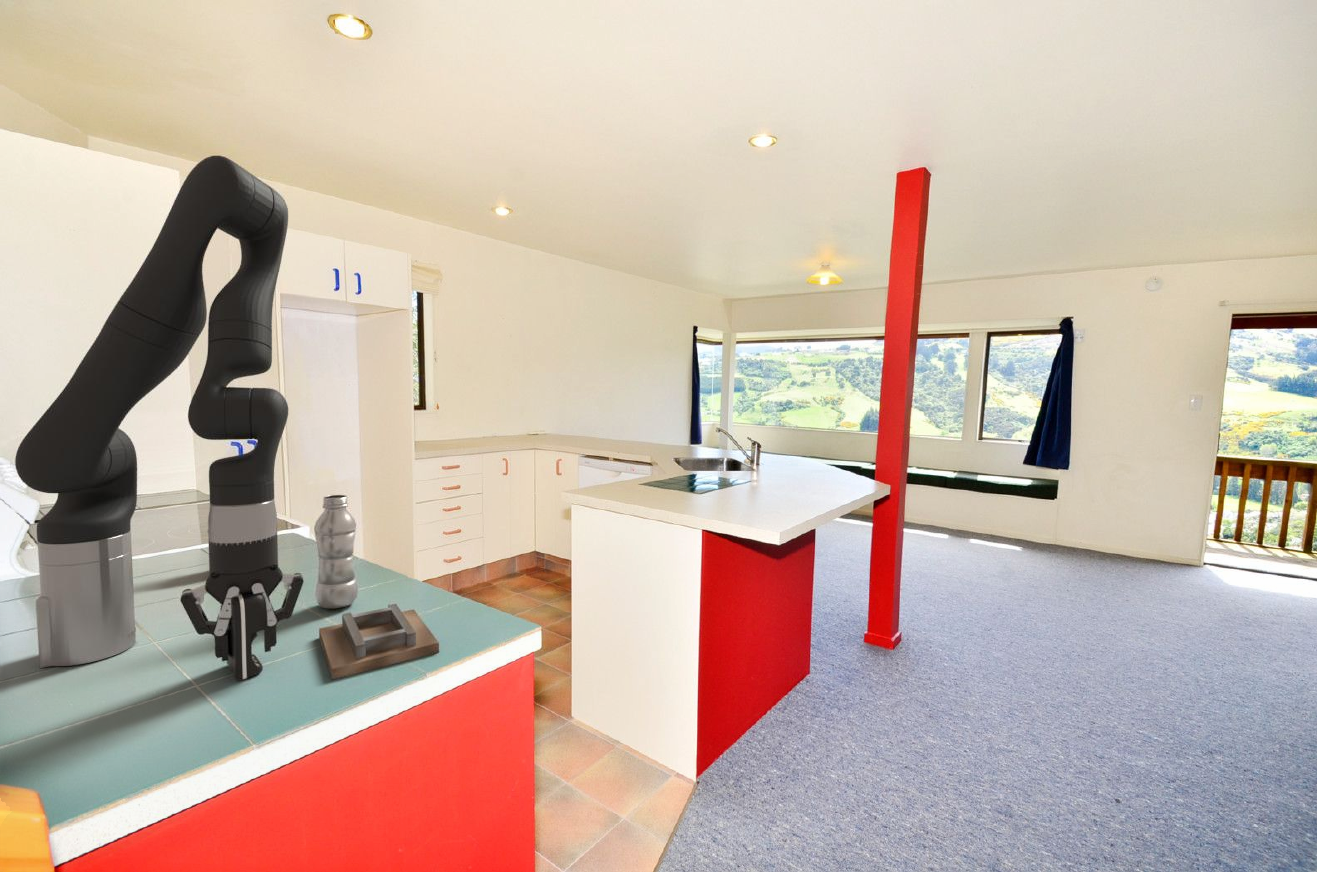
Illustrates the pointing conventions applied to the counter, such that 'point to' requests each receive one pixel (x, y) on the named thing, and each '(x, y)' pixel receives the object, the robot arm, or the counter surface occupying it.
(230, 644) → the battery charger
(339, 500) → the plastic bottle
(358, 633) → the rail block
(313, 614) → the counter surface
